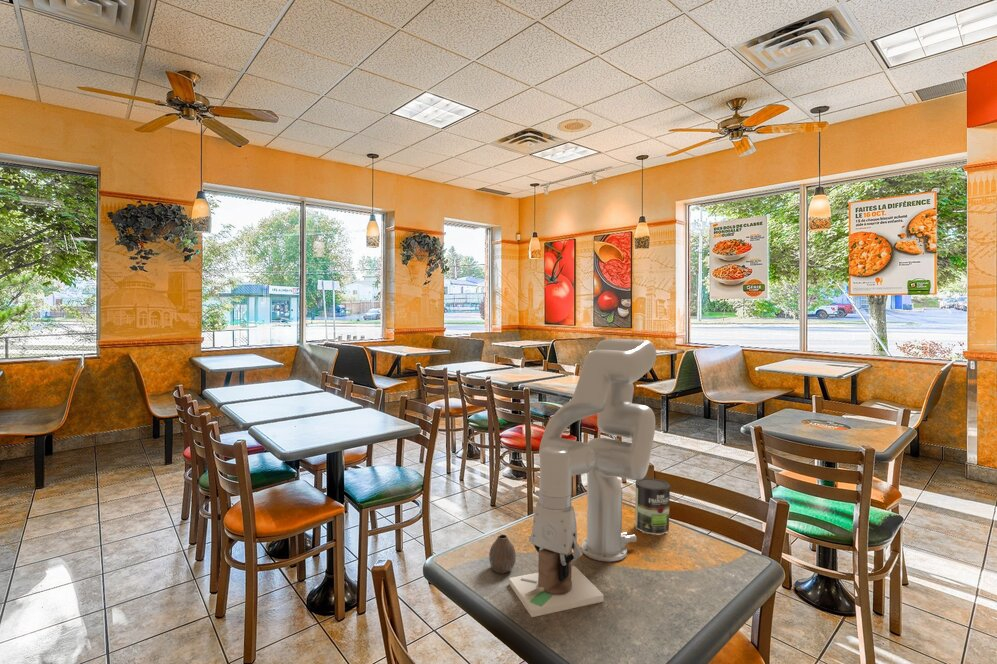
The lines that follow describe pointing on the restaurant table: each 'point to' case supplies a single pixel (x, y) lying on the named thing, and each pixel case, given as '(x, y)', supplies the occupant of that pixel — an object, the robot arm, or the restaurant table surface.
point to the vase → (502, 555)
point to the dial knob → (551, 574)
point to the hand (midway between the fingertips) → (554, 575)
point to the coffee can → (652, 506)
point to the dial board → (550, 603)
